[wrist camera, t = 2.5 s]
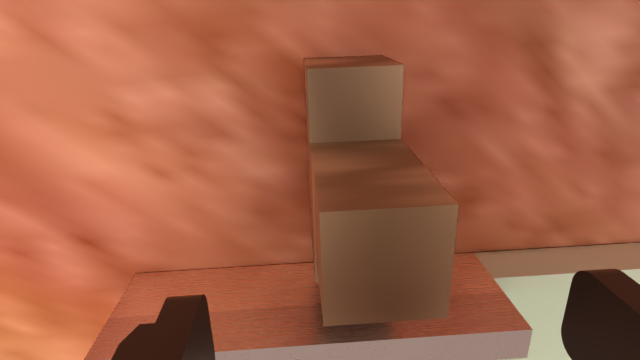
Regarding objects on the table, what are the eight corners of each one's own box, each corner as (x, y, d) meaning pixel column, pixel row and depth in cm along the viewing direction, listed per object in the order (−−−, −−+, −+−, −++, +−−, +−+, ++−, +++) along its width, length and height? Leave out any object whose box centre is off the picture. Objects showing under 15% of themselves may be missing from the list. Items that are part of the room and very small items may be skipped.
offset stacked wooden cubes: (381, 55, 19) (469, 94, 10) (378, 232, 22) (440, 391, 13) (303, 58, 19) (315, 100, 9) (311, 236, 22) (325, 399, 13)
